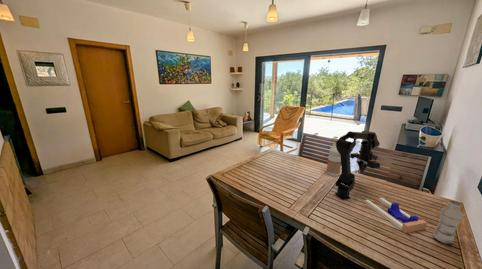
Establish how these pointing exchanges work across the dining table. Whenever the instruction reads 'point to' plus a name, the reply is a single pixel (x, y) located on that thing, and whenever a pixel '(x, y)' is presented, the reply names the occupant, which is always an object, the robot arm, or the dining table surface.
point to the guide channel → (404, 227)
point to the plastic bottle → (448, 222)
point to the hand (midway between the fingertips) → (362, 172)
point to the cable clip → (400, 214)
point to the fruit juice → (334, 161)
